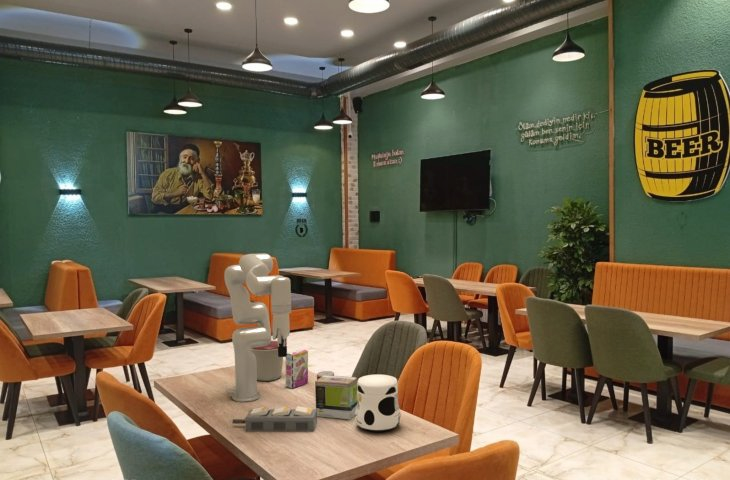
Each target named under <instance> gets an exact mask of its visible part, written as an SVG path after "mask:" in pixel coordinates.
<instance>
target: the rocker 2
mask: <svg viewBox="0 0 730 480" xmlns="http://www.w3.org/2000/svg"><path fill="white" fill-rule="evenodd" d="M274 409H275V410H274V412H273V413H272V414H273V416H284V415H288V414H289V413H290V411H291V409H292V408H291V405H289V406H283V407H278V408H274Z"/></svg>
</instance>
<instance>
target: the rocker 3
mask: <svg viewBox="0 0 730 480" xmlns="http://www.w3.org/2000/svg"><path fill="white" fill-rule="evenodd" d="M295 409H296V410H295V415H299V416H310V415H311V413H312V410H313V409H314V408H309V407H305V406H301V405H297V407H296V408H295Z"/></svg>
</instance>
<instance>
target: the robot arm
mask: <svg viewBox="0 0 730 480" xmlns="http://www.w3.org/2000/svg"><path fill="white" fill-rule="evenodd" d="M273 268H274V260H273V257H272V256H271V255H270V254H268V253H264V252H263V253H247V254H243V255H242V256H241V257H240V259H239V261H238V264H232V265H230V266H227V268H225V270H224V283H225V286H226V288H227V291H228V293H229V296H230V297H229V298H230V305H231V313H232V318H233V319H232V320H233V322H234V324H235V325H237V326H238V325H239V326H243V325H244V326H245V325H252V324H254V325H253V326H246V327H240V328H238V329H235V330H234V331H233V333H232V335H231V339H232V340H231V341H232V346H233V353H234V354H233V355H234V375H235V376H234V378H235V379H234V381H235V387H232V388H231V387H227V388H226V393H227V394H229V395H231V394H232V396H231V398H232V400H233V401H235V402H252V401H257V400H258V399H260V398H261V395H262V394H261V392H260V391H258V380H257V362H256V356H255V355H254V353H253V352H252V351H251V349H252V348H256V347H263V346H267V345H269V344H270V342H271V341H278V357H283V358H286V356H287V353H288V346H287V345H288V337H289V336H290V333H291V332H290V331H291V330H290V326H291V325H290V314H291V313H292V296H291V295H292V291H291V287H292V286H291V279H290V278H289V277H287V276H284V275H277V274H276V275H269V274H270V273H271V272H272V270H273ZM243 284H246V286H245V285H243ZM250 292H251V294H253V295H255V296H258V297H261V296H263V297H264V296H270V298H271V299H270V304H271V314H272V329H271V322H270V315H269V314H270V313H269V310H268V307H267V305H266V304H265V303H264V302H262V301H257V302H252V301H251V299H250ZM255 324H256V325H255Z"/></svg>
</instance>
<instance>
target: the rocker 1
mask: <svg viewBox="0 0 730 480" xmlns="http://www.w3.org/2000/svg"><path fill="white" fill-rule="evenodd" d="M269 407H270V406H269V405H267V406H261V407H258V408H252V409H253V410H252V412H251V413H250V415H251V416H261V415H266V414H267V413H268V411H269V409H270V408H269Z"/></svg>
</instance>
